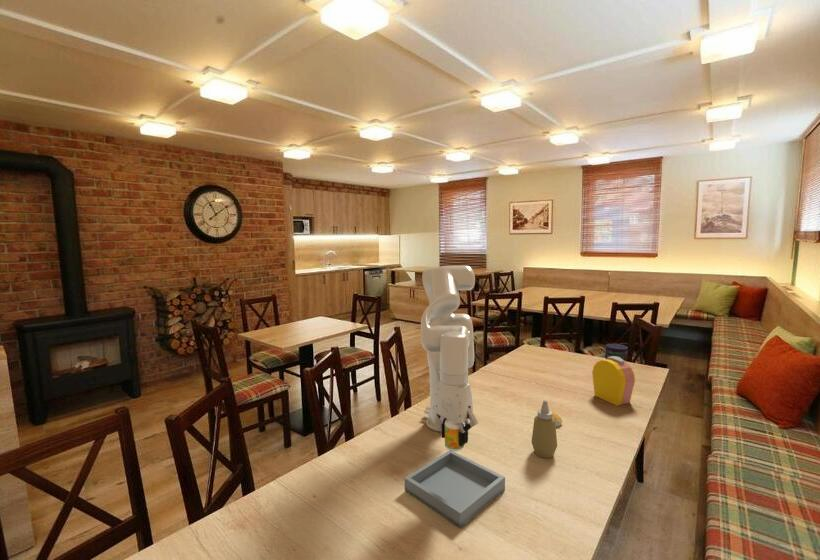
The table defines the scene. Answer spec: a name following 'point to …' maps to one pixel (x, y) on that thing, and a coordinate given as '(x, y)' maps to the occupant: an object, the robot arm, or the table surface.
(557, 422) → the bread roll
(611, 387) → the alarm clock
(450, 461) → the box
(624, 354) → the storage jar
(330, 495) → the table surface
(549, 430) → the squeeze bottle
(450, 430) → the supplement bottle
